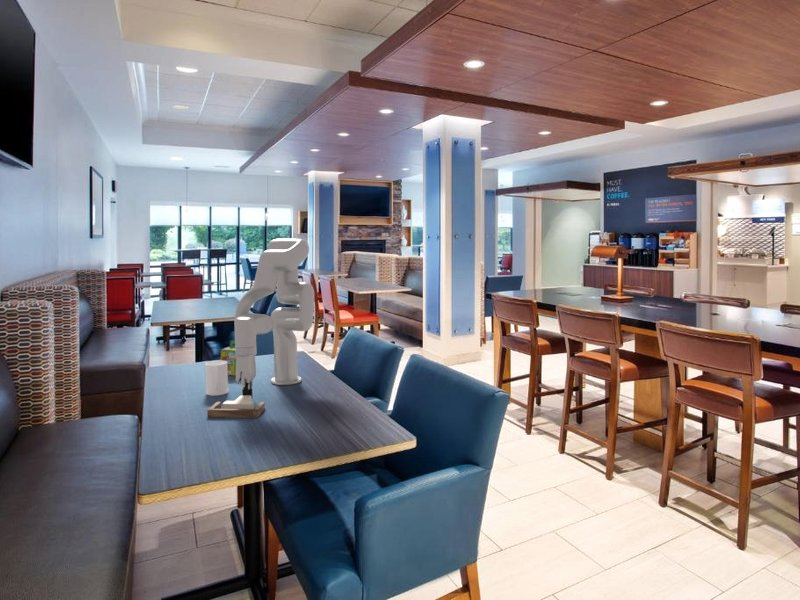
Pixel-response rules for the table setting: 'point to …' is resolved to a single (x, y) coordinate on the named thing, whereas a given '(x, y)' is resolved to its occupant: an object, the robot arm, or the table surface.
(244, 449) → the table surface
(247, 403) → the t block
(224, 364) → the mug
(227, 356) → the chalk box
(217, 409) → the brown u-shaped bracket
